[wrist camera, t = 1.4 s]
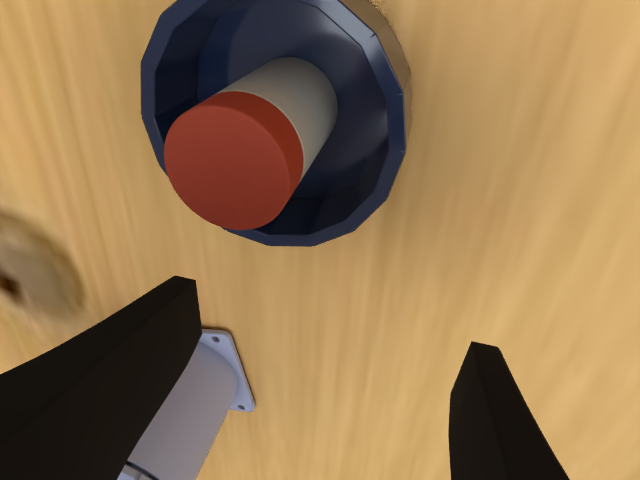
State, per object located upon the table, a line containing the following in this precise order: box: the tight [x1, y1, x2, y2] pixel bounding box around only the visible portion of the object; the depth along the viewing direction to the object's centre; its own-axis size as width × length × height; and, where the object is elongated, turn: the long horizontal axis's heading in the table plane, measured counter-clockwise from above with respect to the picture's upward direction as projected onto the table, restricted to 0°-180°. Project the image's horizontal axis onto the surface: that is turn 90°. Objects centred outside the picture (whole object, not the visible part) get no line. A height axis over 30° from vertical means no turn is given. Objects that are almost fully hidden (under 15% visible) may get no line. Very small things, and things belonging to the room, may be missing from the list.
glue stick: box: [164, 57, 338, 230], centre depth 15 cm, size 4×4×7 cm
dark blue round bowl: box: [141, 0, 412, 247], centre depth 17 cm, size 10×10×4 cm
